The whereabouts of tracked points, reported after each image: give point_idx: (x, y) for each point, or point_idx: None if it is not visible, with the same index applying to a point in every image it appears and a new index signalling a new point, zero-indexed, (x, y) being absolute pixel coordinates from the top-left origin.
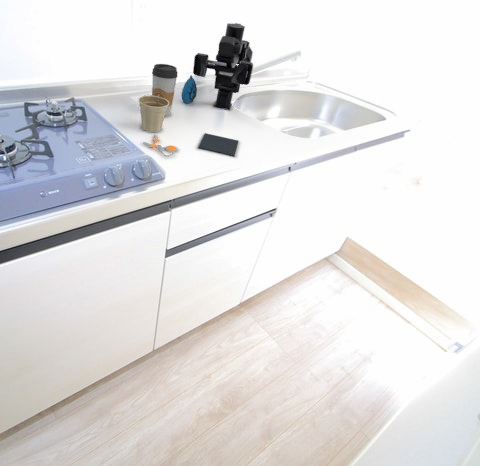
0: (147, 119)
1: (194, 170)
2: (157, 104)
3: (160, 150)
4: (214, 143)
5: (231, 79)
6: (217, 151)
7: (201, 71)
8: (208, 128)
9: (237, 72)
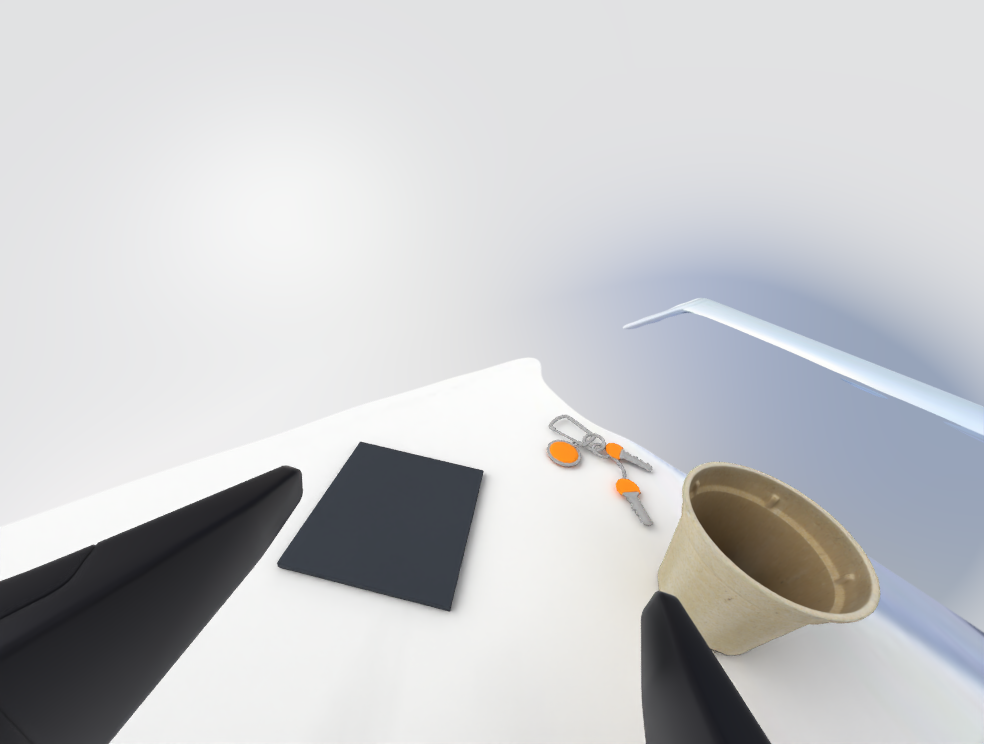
0: (718, 521)
1: (488, 386)
2: (782, 618)
3: (586, 429)
4: (418, 505)
5: (291, 469)
6: (417, 455)
7: (693, 623)
8: (413, 739)
9: (53, 575)
